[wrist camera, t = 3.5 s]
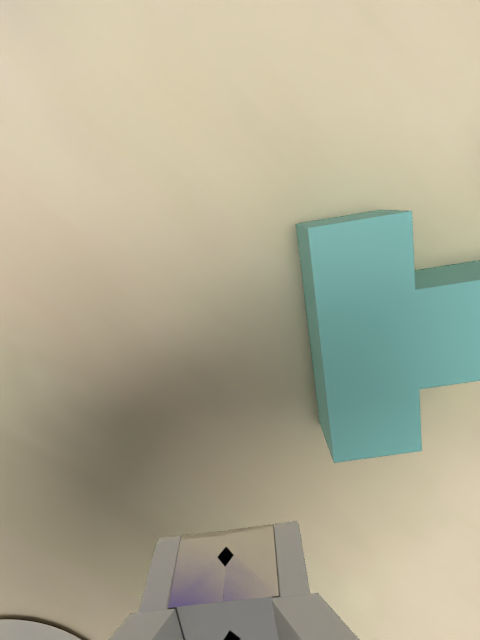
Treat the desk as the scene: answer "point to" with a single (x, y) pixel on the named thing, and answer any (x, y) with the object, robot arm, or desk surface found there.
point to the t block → (382, 330)
